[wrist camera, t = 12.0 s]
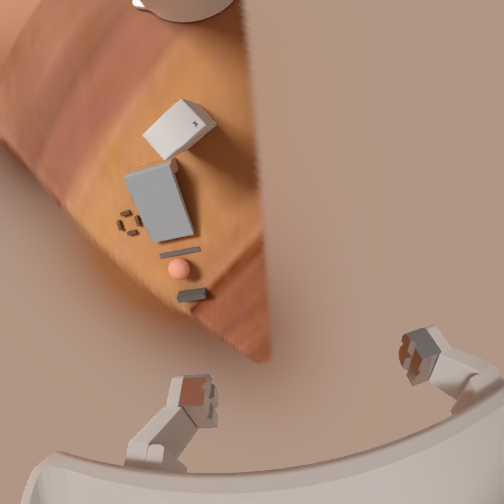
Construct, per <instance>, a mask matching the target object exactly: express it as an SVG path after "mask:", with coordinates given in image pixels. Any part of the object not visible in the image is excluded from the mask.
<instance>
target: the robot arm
mask: <svg viewBox="0 0 504 504" xmlns="http://www.w3.org/2000/svg"><path fill="white" fill-rule="evenodd" d="M233 1H234V0H132V4H133V6H134V7H135V8H137V9H141V10H149V11H151V12H153V13H154V14H156V15H157V16H159V17H160V18H163V19H165V20H168V21H173V22H193V21H198V20H202V19H206V18H208V17H211V16H213V15H215V14H217V13H219V12H221V11H222V10H224V9H225V8H226V7H228V6H229V5H230V4H231V3H232V2H233ZM401 341H402V343H403V345H402V346H401V347H400V349H399V360H400V363H401V365H402V367H403V368H405V369H406V370H408V372H407V377H408V379H409V381H410V382H411V384H412V386H414V385H417V384H420V383H422V382H425V381H428V380H429V382H431V383H432V384H433V385H435V386H436V387H438V388H439V389H441V390H442V391H444V392H445V393H447V394H448V395H450V396H451V397H453V398H454V399H456V400H457V401H456V403H455V404H454V406H453V407H452V410H451V412H452V416H450V417H448V418H446V419H444V420H442V421H440V422H438V423H436V424H434V425H432V426H430V427H428V428H425V429H423V430H421V431H418V432H416V433H413V434H411V435H408V436H406V437H403V438H401V439H398V440H396V441H393V442H390V443H387V444H384V445H381V446H378V447H375V448H372V449H369V450H366V451H362V452H359V453H355V454H352V455H348V456H344V457H340V458H336V459H331V460H327V461H322V462H317V463H313V464H308V465H301V466H296V467H289V468H282V469H274V470H265V471H256V472H255V471H254V472H240V473H187V467H186V466H185V465H183V464H182V463H181V462H180V461H179V460H178V459H177V458H178V457H179V455H180V454H181V453H182V451H183V450H184V448H185V447H186V446H187V444H188V443H189V441H190V440H191V439H192V437H193V436H194V434H195V433H196V431H197V430H198V429H197V428H211V427H217V419H218V414H217V412H216V410H215V409H216V408H217V406H218V393H217V389H216V387H215V386H214V385H213V384H211V381H212V379H211V377H210V375H209V374H202V375H183V376H174V377H173V378H172V380H171V385H170V390H169V395H168V400H167V405H166V407H163V408H162V409H161V410H160V411H159V412H158V413H157V414H156V415H155V416H154V417H153V418H152V419H151V420H150V421H149V422H148V423H147V424H146V425H145V426H144V427H143V428H142V429H141V430H140V431H139V432H138V433H137V434H136V435H135V436H134V437H133V438H132V439H131V440H130V441H129V446H128V450H127V454H126V458H125V463H124V466H120V465H114V464H109V463H104V462H99V461H95V460H91V459H87V458H82V457H79V456H76V455H72V454H69V453H66V452H61V451H57V452H55V453H53V454H51V455H50V456H48V457H47V458H45V459H44V460H43V461H42V462H41V463H39V464H38V465H37V466H36V467H35V468H34V469H33V471H32V473H31V475H30V477H29V479H28V482H27V485H26V488H25V491H24V493H23V497H22V501H21V504H504V380H503V378H502V377H501V376H500V374H499V373H498V371H497V370H496V368H495V367H494V365H493V364H491V363H488V362H486V361H484V360H482V359H479V358H477V357H475V356H473V355H470V354H469V353H466V352H464V351H462V350H459V349H457V348H455V347H453V348H451V346H450V345H449V344H448V342H447V341H446V339H445V338H444V337H443V335H442V334H441V333H440V331H439V330H438V329H437V327H436V326H435V325H433V324H432V325H430V326H427V327H424V328H420V329H418V330H415V331H412V332H409V333H406V334H404V335H403V336H402V340H401Z"/></svg>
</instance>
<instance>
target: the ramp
mask: <svg viewBox="0 0 504 504" xmlns="http://www.w3.org/2000/svg"><path fill="white" fill-rule="evenodd" d="M177 171H178V166H177V162H176V158H172V159H169V160H167V161H161V162H157V163H154V164H150V165H147V166H143V167H140V168H137V169H133V170H132V171H130V172H128V173H127V175H126V176H125V178H124V179H125V182H126V184H127V187H128V189H129V191H130V194H131V196H132V198H133V201H134V203H135V205H136V207H137V210H138V212H139V214H140V216H141V219H142V221H143V223H144V225H145V227H146V229H147V232H148V234H149V236H150V238H151V240H152V242H153V243H155V242H160V241H165V240H169V239H174V238H179V237H184V236H189V235H194V228H193V225H192V223H191V220H190V217H189V214H188V211H187V208H186V206H185V203H184V200H183V197H182V194H181V191H180V188H179V185H178V182H177V179H176V176H175V173H176V172H177Z"/></svg>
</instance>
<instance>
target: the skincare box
mask: <svg viewBox="0 0 504 504" xmlns="http://www.w3.org/2000/svg"><path fill="white" fill-rule="evenodd" d="M216 125H217V123H216V122H215V121H214V120H213V119H212V117H211V116H210V115H209V114H208V113H207V112H206V111H205V110H204V109H203V107H202V106H201V105H200V104H197V103H194V102H191V101H188V100H185V99H180V100H179V101H178V102H177V103H175V104H174V105H173V106H172V107H171V108H170V109H169V110H167V111H166V112H165V113H164V114H163V115H162V116H161V117H160V118H159V119H158V120H157V121H156V122H155V123H154V124H153V125H152V126H151V127H150V128H149V129H148V130H147V131H146V132H145V133H144V134H143V137H144V138H145V139H146V140H147V141H148V143H149V144H150V145H151V146H152V147H153V148H154V150H155V151H156V152H157V153H158V154H159V155H160V156H161V158H162V159H163V160H164V161H167V160H169V159H171V158H173V157H175V156H176V155H178V154H180V153H182V152H184V151H186V150H188V149H189V148H190V147H192V146H193V145H194V144H195V143H196V142H197V141H199V140H200V139H201V138H202V137H203V136H204V135H206V134H207V133H208V132H209V131H210V130H211V129H213V128H214V127H215V126H216Z"/></svg>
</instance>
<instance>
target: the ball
mask: <svg viewBox="0 0 504 504" xmlns="http://www.w3.org/2000/svg"><path fill="white" fill-rule="evenodd" d="M189 271H190V267H189V264H188V262H187V261H186V260H185V259H182V258H175V259H173V260H172V261H171V262H170V263H169V266H168V272H169V274H170V276H171V277H172V278H174V279H176V280H182V279H184V278H186V277H187V276H188V274H189Z"/></svg>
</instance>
